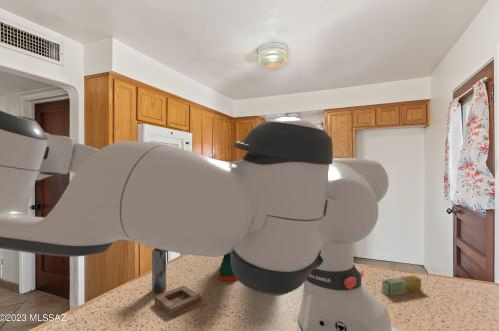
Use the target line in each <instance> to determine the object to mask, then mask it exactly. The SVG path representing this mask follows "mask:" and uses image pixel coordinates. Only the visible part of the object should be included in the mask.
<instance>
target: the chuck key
mask: <svg viewBox="0 0 499 331" xmlns="http://www.w3.org/2000/svg"><path fill="white" fill-rule="evenodd" d="M167 252H168V251H166V250H162V249H158V248H154V247H152V250H151V282H152V283H151V293H153V294H162V293H165V291H166V292H167Z"/></svg>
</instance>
